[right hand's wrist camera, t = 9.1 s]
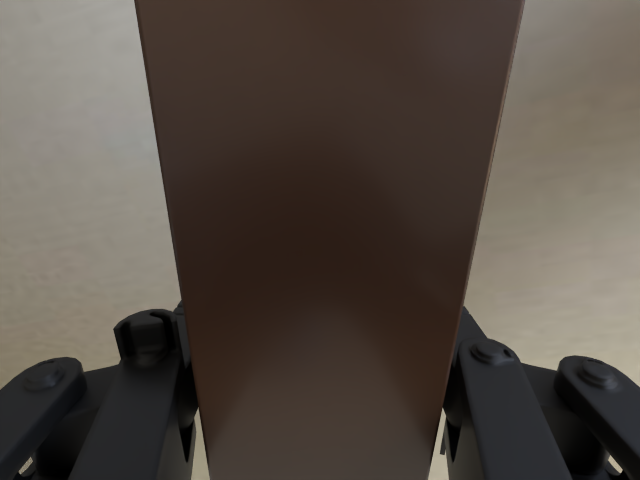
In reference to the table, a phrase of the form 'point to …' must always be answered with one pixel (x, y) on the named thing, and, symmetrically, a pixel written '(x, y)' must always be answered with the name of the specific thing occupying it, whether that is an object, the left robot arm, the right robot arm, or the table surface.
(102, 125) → the table surface
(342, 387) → the beam
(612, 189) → the table surface
